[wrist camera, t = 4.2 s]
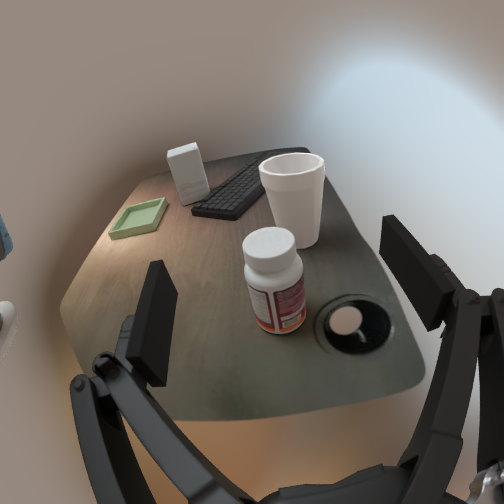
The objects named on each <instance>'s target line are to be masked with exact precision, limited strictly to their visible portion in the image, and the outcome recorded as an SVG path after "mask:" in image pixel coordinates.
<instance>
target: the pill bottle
mask: <svg viewBox="0 0 504 504" xmlns="http://www.w3.org/2000/svg"><path fill="white" fill-rule="evenodd" d="M242 247H243V252H244V258H245V262H246V264H245V268H244V274H245V279H246V282H247V286H248V290H249V293H250V297H251V301H252V305H253V308H254V312H255V316H256V319H257V322H258V324H259V325H260V327H261V328H263V329H264V330H266V331H267V332H270V333H274V334H285V333H289V332H291V331H293V330H295V329H297V328H298V327H299V326H300V325H301V324H302V323H303V321H304V319H305V316H306V301H305V288H304V275H303V264H302V260H301V258H300V256H299V255H298V254H297V253H296V245H295V238H294V236H293V234H292V233H291V232H290V231H288V230H287V229H284V228H280V227H267V228H262V229H259V230H256V231H254V232H252V233H251V234H249V235H248V236H247V237H246V238H245V240H244V241H243V245H242Z"/></svg>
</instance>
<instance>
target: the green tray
mask: <svg viewBox="0 0 504 504" xmlns="http://www.w3.org/2000/svg"><path fill="white" fill-rule="evenodd" d="M167 205H168V202H167V199H166V197H163V198H158V199H154V200H150V201H146V202H142V203H138V204H134V205H131V206H127V207H125V209H124V210H123V212H122V213H121V215H120V216H119V217H118V219H117V220H116V222H115V223H114V225H113V226H112V228H111V229H110V231H109V232H108V234H109V236H110V238H111V240H115V239H119V238H124V237H128V236H133V235H137V234H142V233H147V232H151V231H155V230H156V228H157V226H158V224H159V221H160V219H161V217H162V215H163V213H164V211H165V209H166V207H167Z"/></svg>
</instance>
